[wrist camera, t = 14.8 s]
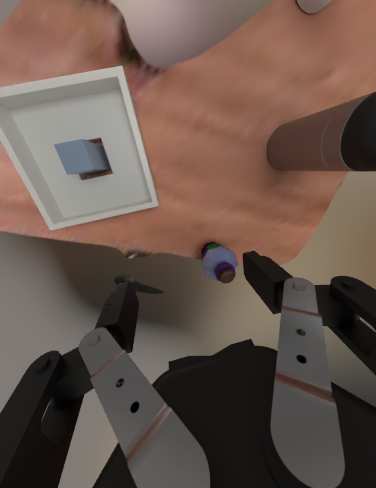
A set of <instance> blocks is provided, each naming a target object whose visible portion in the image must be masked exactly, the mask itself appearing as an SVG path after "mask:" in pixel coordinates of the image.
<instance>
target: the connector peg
mask: <svg viewBox="0 0 376 488" xmlns="http://www.w3.org/2000/svg"><path fill="white" fill-rule="evenodd" d="M54 147H55V149H56V151H57V153H58V156H59V158H60V160H61V162H62V165H63V167H64V169H65V171H66V173H67V175H71V174H85V173H94V172H99V171H103V170H108V169H111V168H110V165H109V162H108V159H107V156H106V153H105V151H104V148H103V147H102V146H100V145H97V144H95V143H92V142H89V141H87V140H84V139H79V140H74V141H69V142H64V143H59V144H54Z"/></svg>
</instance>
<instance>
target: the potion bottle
mask: <svg viewBox="0 0 376 488" xmlns="http://www.w3.org/2000/svg"><path fill="white" fill-rule="evenodd" d="M237 265H238V264H237V259H236V255H235V253H234V252H232V251H231V250H229V249H227V248H224V247H222V246H220V245H219V244H217V243H215V242H212V243H209V244H206V245H205V246H204V248H203V250H202V267H203V270H204V273H205V276H206V277H209V278H211V279H214V280H219V281H221V282H222V283H229V282H231V281H232V280H233V279H234V277H235V268H236V267H237Z"/></svg>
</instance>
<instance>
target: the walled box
mask: <svg viewBox="0 0 376 488" xmlns="http://www.w3.org/2000/svg"><path fill="white" fill-rule="evenodd" d="M79 139H84V140H87V141H89V142H92V143H93V142H98V141H102V143H103V146H104V148H105V151H106V154H107V157H108V160H109V163H110V166H111V169H112V172H113V174H110V175H105V176H100V177H95V178H91V179H87V177H86V175H85V174H71V175H67V173H66V171H65V169H64V167H63V165H62V162H61V160H60V158H59V156H58V153H57V151H56V149H55V147H54V144H59V143H64V142H69V141H74V140H79ZM0 141H1V143H2V144H3V146H4V148H5V150H6V152H7V153H8V155H9V157H10V159H11V161H12V162H13V164H14V166H15V168H16V169H17V171H18V173H19V175H20V177H21V178H22V180H23V182H24V184H25V186H26V187H27V189H28V191H29V193H30V195H31V196H32V198H33V200H34V202H35V204H36V205H37V207H38V209H39V211H40V213H41V214H42V216H43V218H44V220H45V222H46V223H47V225H48V227H49V229H50V230H55V229H59V228H64V227H68V226H72V225H77V224H81V223H86V222H90V221H95V220H99V219H103V218H108V217H112V216H117V215H121V214H126V213H130V212H135V211H139V210H143V209H148V208H152V207H157V206H159V197H158V193H157V190H156V186H155V182H154V178H153V174H152V170H151V166H150V163H149V159H148V155H147V151H146V147H145V143H144V139H143V136H142V132H141V128H140V124H139V120H138V116H137V112H136V109H135V105H134V101H133V97H132V93H131V89H130V86H129V83H128V80H127V78H126V75H125V72H124V69H123V67H122V66H118V67H112V68H106V69H101V70H95V71H89V72H84V73H78V74H73V75H67V76H61V77H56V78H50V79H44V80H39V81H33V82H27V83H22V84H16V85H11V86H5V87H0Z"/></svg>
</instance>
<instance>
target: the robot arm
mask: <svg viewBox="0 0 376 488" xmlns="http://www.w3.org/2000/svg"><path fill="white" fill-rule="evenodd" d="M267 155H268V159H269V162H270V164H271V165H272V166H273V167H274V168H276V169H278V170H294V171H376V92H373V93H371V94H368V95H365V96H362V97H359V98H357V99H354V100H351V101H349V102H346V103H343V104H340V105H337V106H334V107H332V108H329V109H326V110H323V111H320V112H317V113H314V114H312V115H309V116H306V117H303V118H300V119H297V120H294V121H292V122H289V123H286V124H284V125H282V126H280V127H279V128H278V129H277V130H276V131H275V132H274V133H273V135H272V136H271V138H270V141H269V144H268V149H267ZM243 268H244V275H245V278H246V280H247V281H248V282H249V283H250V285H251V286H252V287H253V289H254V290H255V291H256V293H257V294H258V295H259V296H260V298H261V299H262V300H263V302H264V303H265V304H266V305H267V307H268V308H269V309H270V311H271V312H272V313H273V314H277V313H281V320H280V331H279V342H278V351H276V350H274V349H271V348H268V347H264V346H254V344H253V342H252V340H251V339H249V340H245V341H242V342H239V343H235V344H231V345H230V346H228V347H226V348H224V349H223V350H221V351H219V352H218V353H216V354H214V355H212V356H188V357H184V358H180V359H177V360H174V361H170V362H169V370H168V371H166V372H165V373H163V374H162V375H161V376H160V377H159V378H158V379H157V380H156V381H155V382H154V383H153V384H152V385H151V384H150V382H149V381H148V380H147V378H146V377H145V376H144V375H143V373H142V372H141V371H140V369H139V368H138V367H137V366H136V364H135V363H134V362H133V360H132V359H131V358H130V357H129V355H128V354H127V353H130V352H132V350H133V344H134V337H135V330H136V324H137V317H138V310H139V301H138V298H137V295H136V293H135V290H134V288H133V286H132V283H131V282H130V281H128V282H124V283H120V284H118V286H117V289H116V292H115V293H112V294H111V295H110V296H109V297H108V298H107V300H106V302H105V304H104V307H103V309H102V312H101V314H100V317H99V319H98V322H97V324H96V327H95V329H94V330H92V331H91V332H89V333H88V334H87V335H85V336H84V338H83V339H82V340H81V342H80V344H79V347H77V348H75V349H73V350H72V351H70V352H68V353H66V354H64V355H61V354H60V353H59V352H58V351H50V352H47V353H45V354H44V355H42V356H40V357H39V358H38V359H36V360H35V361H34V362H33V363H32V364H31V365H30V367H29V368H28V369H27V370H26V372H25V374H24V375H23V377H22V379H21V381H20V382H19V384H18V385H17V387H16V389H15V390H14V392H13V393H12V395H11V397H10V398H9V400H8V402H7V403H6V405H5V407H4V408H3V410H2V411H1V413H0V488H58V485H59V482H60V478H61V474H62V471H63V467H64V464H65V461H66V457H67V453H68V450H69V446H70V443H71V439H72V436H73V432H74V429H75V425H76V422H77V418H78V415H79V411H80V408H81V404H82V401H83V397H84V394H85V393H87V392H88V391H90V390H92V389H93V388H94V389H95V391H96V393H97V395H98V398H99V400H100V402H101V404H102V406H103V409H104V411H105V413H106V415H107V417H108V420H109V422H110V424H111V426H112V428H113V431H114V433H115V435H116V437H117V439H118V444H117V446H116V447H115V449H114V451H113V453H112V454H111V456H110V458H109V460H108V462H107V463H106V465H105V467H104V468H103V470H102V472H101V474H100V475H99V477H98V479H97V480H96V482H95V484H94V486H93V487H92V488H376V407H374V406H372V405H371V404H369V403H367V402H365V401H364V400H362V399H360V398H358V397H356V396H355V395H353V394H352V393H350V392H348V391H346V390H345V389H343V388H341V387H340V386H338V385H336V384H334V383H333V382H331V381H330V374H329V367H328V360H327V353H326V345H325V338H324V331H323V326H328V327H329V328H330V329H331V330H332V331H333V332H334V333H335V334H336V335H337V336H338V337H339V338H340V339H341V340H342V341H343V342H344V343H345V344H346V346H347V347H348V348H349V349H350V350H351V351H352V352H353V353H354V354H355V355H356V356H357V357H358V358H359V359H360V360H361V361H362V362H363V363H364V364H365V365H366V366H367V367H368V368H369V369H370V370H371V371H372V372H373V373H374V374H375V375H376V332H374V331H373V330H372V329H371V328H369V327H368V326H367V325H366V324H365V323H363V322H362V321H361V320H360V319H359V318H360V317H361V318H363V319H364V320H365V321H366V322H368V323H369V324H370V325H371V326H373V328H374V329H375V330H376V290H375V289H374V288H372V287H370V286H368V285H367V284H365V283H363V282H362V281H360V280H358V279H356V278H352V277H348V276H337V277H334V278H332V279H331V283H330V285H313V283H311V282H310V281H308V280H306V279H303V278H297V277H295V278H294V277H293V276H291V275H290V274H289V273H288V272H286V271H285V270H284V269H283V268H281V267H280V266H279V265H278V264H277V263H275V262H274V261H273V260H272V259H270V258H268V257H266V256H260V255H259V254H258V253H256V252H255V251H250V252H246V253H243ZM48 403H49V406H48ZM47 406H48V408H47ZM46 408H47V410H46ZM45 410H46V413H45V415H44V412H45ZM43 415H44V417H43ZM42 418H43V419H42ZM41 421H42V422H41Z"/></svg>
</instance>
